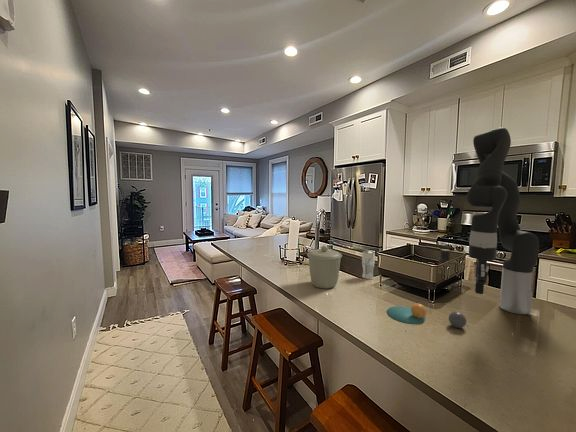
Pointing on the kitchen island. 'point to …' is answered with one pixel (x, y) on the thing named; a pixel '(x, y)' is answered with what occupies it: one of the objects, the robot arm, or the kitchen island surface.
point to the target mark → (403, 315)
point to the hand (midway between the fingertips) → (478, 293)
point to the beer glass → (368, 264)
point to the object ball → (418, 310)
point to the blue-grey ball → (457, 319)
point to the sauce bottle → (445, 258)
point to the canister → (324, 267)
